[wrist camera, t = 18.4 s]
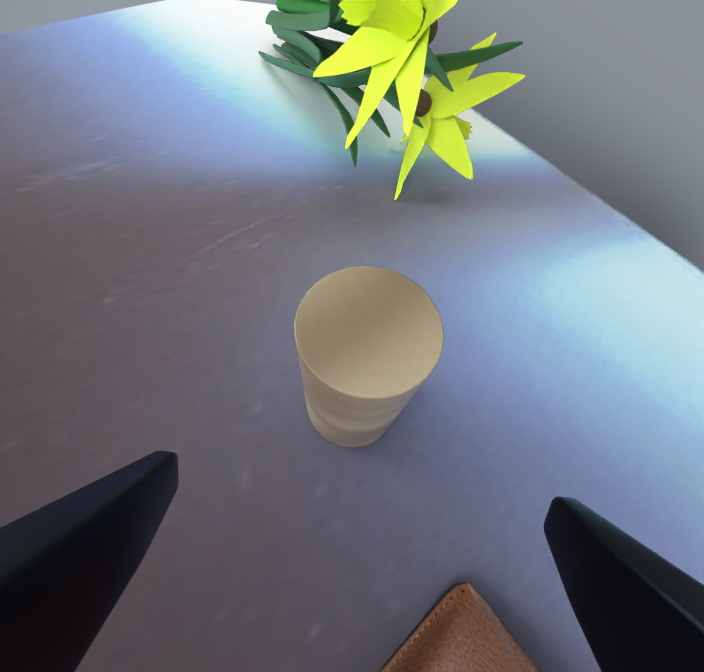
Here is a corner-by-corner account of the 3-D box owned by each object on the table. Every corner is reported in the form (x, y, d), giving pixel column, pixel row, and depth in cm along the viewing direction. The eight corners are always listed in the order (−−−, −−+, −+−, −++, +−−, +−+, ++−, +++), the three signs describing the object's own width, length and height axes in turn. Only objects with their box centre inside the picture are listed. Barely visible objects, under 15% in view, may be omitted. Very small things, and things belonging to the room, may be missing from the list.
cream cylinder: (413, 403, 22) (474, 330, 13) (350, 468, 20) (371, 434, 11) (352, 344, 23) (369, 243, 15) (288, 399, 21) (262, 320, 12)
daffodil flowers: (368, 46, 44) (624, 124, 23) (289, 135, 46) (453, 278, 25) (277, -144, 31) (686, -377, 10) (175, -5, 33) (317, 52, 12)
